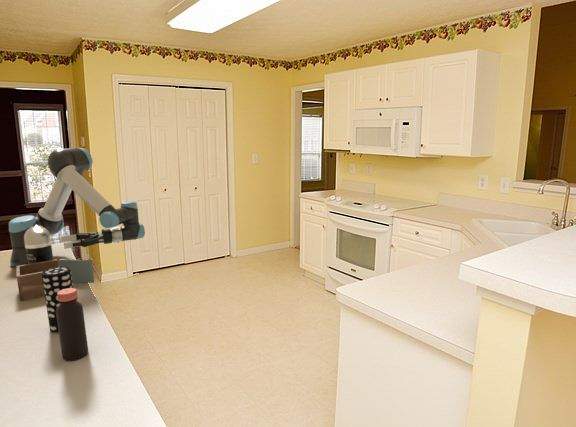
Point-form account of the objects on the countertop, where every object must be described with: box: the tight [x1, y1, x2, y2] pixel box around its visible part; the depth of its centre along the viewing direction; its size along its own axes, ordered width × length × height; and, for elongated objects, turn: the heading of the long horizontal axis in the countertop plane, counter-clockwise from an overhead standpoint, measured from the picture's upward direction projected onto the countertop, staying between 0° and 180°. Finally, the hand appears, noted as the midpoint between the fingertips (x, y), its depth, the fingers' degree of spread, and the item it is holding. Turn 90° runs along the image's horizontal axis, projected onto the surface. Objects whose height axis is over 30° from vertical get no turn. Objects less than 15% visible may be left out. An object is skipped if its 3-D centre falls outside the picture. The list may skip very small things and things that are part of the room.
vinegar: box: [56, 287, 89, 362], centre depth 115 cm, size 7×7×20 cm
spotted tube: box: [42, 266, 74, 334], centre depth 133 cm, size 8×8×20 cm
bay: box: [15, 259, 59, 302], centre depth 166 cm, size 16×15×10 cm
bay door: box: [58, 258, 95, 284], centre depth 176 cm, size 16×1×10 cm, turn 79°
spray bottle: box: [24, 224, 54, 264], centre depth 180 cm, size 10×10×25 cm
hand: (62, 242), depth 185 cm, fingers open, 13 cm apart
